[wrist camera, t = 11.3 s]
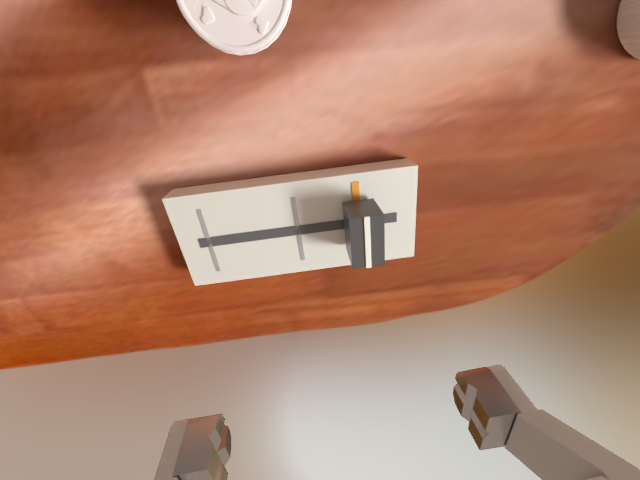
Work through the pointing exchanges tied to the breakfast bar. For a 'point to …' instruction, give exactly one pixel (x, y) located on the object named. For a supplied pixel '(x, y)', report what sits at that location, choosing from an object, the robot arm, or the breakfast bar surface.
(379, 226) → the fader knob
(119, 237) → the breakfast bar surface
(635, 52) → the ramekin
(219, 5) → the smoothie
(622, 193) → the breakfast bar surface
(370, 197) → the fader console
